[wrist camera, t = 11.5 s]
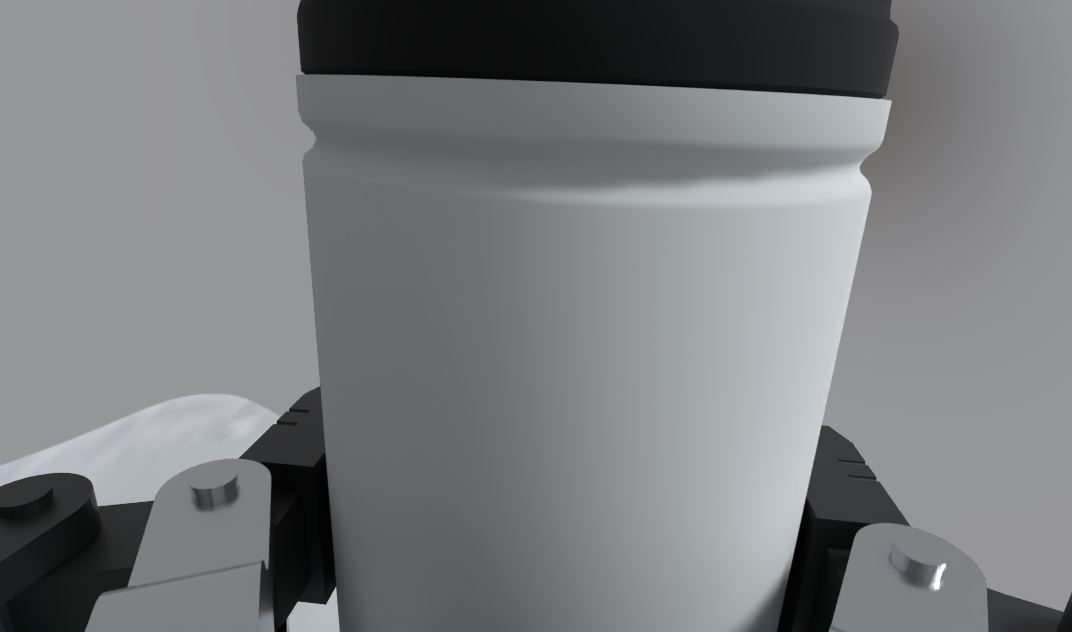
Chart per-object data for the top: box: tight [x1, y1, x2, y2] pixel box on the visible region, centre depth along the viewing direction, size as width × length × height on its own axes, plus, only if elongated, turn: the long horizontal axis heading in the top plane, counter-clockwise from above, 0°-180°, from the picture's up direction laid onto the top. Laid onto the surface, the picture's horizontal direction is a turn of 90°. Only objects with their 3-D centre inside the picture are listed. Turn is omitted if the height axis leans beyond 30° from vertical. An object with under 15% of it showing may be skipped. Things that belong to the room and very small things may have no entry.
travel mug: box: [296, 0, 899, 632], centre depth 10 cm, size 6×7×20 cm
